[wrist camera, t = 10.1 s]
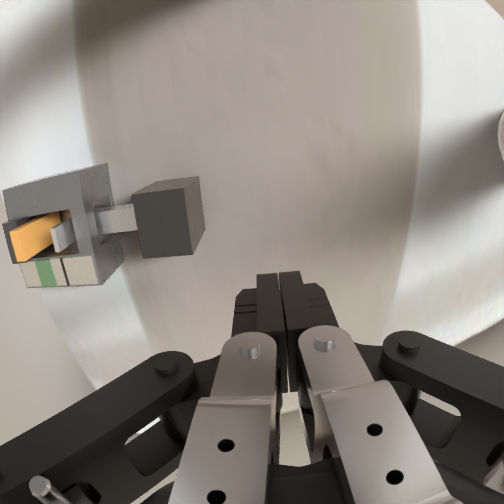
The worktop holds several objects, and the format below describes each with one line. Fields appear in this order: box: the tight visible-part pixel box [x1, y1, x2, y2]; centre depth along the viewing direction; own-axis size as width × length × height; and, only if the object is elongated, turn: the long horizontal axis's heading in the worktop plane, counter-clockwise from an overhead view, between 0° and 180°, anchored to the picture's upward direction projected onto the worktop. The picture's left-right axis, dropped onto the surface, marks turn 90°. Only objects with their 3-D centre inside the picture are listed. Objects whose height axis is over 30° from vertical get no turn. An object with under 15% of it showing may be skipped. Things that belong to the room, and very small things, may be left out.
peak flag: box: [10, 211, 61, 262], centre depth 25 cm, size 1×3×7 cm, turn 5°
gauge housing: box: [2, 163, 125, 288], centre depth 26 cm, size 10×10×7 cm
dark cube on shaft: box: [50, 176, 205, 259], centre depth 25 cm, size 12×5×8 cm, turn 95°
